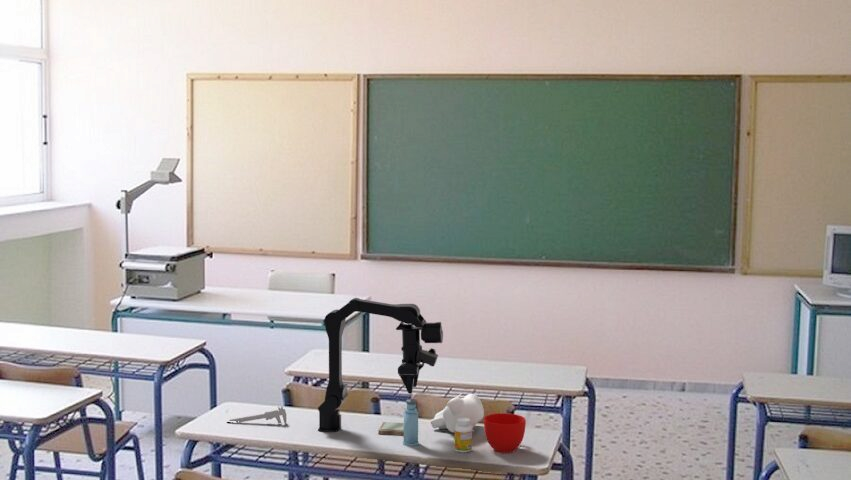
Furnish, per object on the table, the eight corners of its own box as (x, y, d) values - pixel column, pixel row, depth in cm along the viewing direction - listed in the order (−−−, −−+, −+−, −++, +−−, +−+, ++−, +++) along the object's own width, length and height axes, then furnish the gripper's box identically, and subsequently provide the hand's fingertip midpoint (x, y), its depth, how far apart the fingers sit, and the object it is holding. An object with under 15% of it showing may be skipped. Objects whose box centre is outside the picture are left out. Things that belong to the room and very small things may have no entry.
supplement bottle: (453, 447, 316) (453, 417, 315) (470, 447, 316) (470, 417, 316) (455, 452, 311) (455, 422, 310) (472, 452, 311) (473, 421, 310)
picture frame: (378, 433, 330) (378, 429, 330) (383, 425, 340) (383, 421, 340) (408, 435, 329) (408, 431, 329) (412, 426, 339) (412, 422, 339)
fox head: (431, 400, 346) (418, 410, 327) (476, 385, 343) (465, 395, 323) (444, 437, 345) (431, 450, 326) (489, 422, 342) (479, 435, 322)
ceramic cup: (530, 442, 322) (531, 411, 321) (521, 458, 306) (521, 426, 305) (490, 439, 326) (491, 408, 325) (479, 454, 310) (479, 422, 309)
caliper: (286, 423, 342) (286, 405, 341) (285, 424, 341) (285, 406, 340) (226, 423, 342) (226, 405, 342) (225, 424, 341) (225, 405, 340)
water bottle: (401, 445, 318) (402, 402, 316) (404, 441, 322) (404, 398, 321) (417, 446, 317) (417, 402, 316) (419, 441, 322) (420, 398, 321)
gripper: (431, 348, 318) (432, 397, 319) (439, 337, 336) (440, 383, 338) (396, 348, 320) (398, 397, 321) (406, 337, 338) (407, 383, 339)
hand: (412, 390), depth 330 cm, fingers open, 9 cm apart
